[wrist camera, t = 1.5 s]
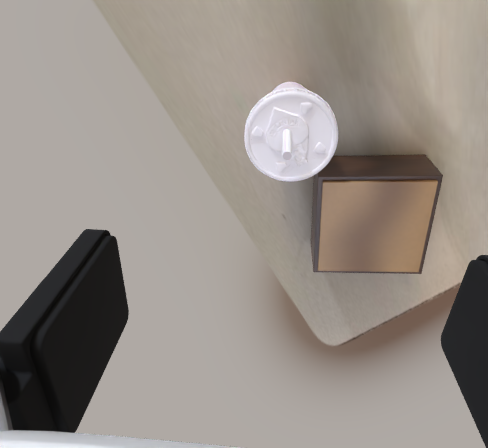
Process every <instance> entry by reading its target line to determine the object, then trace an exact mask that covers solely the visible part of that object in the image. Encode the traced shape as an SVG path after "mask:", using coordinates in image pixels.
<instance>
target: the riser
mask: <svg viewBox="0 0 488 448" xmlns="http://www.w3.org/2000/svg"><path fill="white" fill-rule="evenodd" d="M442 177H443V175H442V174H441V173H440V172H439V170H438V169H437V168H436V167H435V166H434V164H433V163H432V162H431V161H430V159H429V158H428V157H427V156H426V155H377V156H333V157H332V158H331V160H330V161H329V163H328V164H327V165H326V166H325V167H324V168H323V169H322V170H321V171H320V172H318V173H317V174H315V175H314V182H313V206H312V230H311V252H312V262H313V272H344V273H410V274H421V273H422V268H423V264H424V259H425V255H426V250H427V245H428V241H429V236H430V232H431V227H432V223H433V218H434V214H435V209H436V205H437V200H438V196H439V191H440V186H441V182H442Z"/></svg>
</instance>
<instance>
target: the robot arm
mask: <svg viewBox="0 0 488 448" xmlns="http://www.w3.org/2000/svg"><path fill="white" fill-rule="evenodd" d="M127 320H128V304H127V299H126V292H125V286H124V280H123V274H122V268H121V262H120V257H119V251H118V245H117V240H116V238H115V237H114V236H111V235H110V233H109V231H107V230H92V229H86V230H84V231H83V232H82V234H81V235H80V236H79V237H78V239H77V240H76V241H75V242H74V243H73V245H72V246H71V247H70V248H69V250H68V251H67V252H66V253H65V254H64V256H63V257H62V258H61V259H60V261H59V262H58V263H57V264H56V265H55V267H54V268H53V269H52V270H51V271H50V273H49V274H48V275H47V276H46V278H45V279H44V280H43V281H42V282H41V283H40V284H39V285H38V287H37V288H36V289H35V291H34V292H33V293H32V294H31V295H30V296H29V298H28V299H27V300H26V301H25V303H24V304H23V305H22V306H21V307H20V309H19V310H18V311H17V312H16V313H15V315H14V316H13V317H12V318H11V319H10V321H9V322H8V323H7V324H6V326H5V327H4V328H3V329H2V330H1V332H0V448H242V447H231V446H221V445H210V444H199V443H188V442H176V441H166V440H155V439H145V438H134V437H123V436H110V435H96V434H83V433H75V431H76V430H77V428H78V426H79V424H80V422H81V420H82V417H83V415H84V413H85V411H86V409H87V407H88V404H89V402H90V400H91V398H92V396H93V394H94V392H95V390H96V387H97V385H98V383H99V381H100V379H101V377H102V375H103V372H104V370H105V368H106V366H107V364H108V362H109V359H110V357H111V355H112V353H113V351H114V349H115V347H116V345H117V343H118V340H119V338H120V336H121V333H122V332H123V330H124V327H125V325H126V323H127ZM441 345H442V349H443V351H444V353H445V356H446V358H447V360H448V362H449V365H450V367H451V369H452V371H453V373H454V376H455V378H456V380H457V383H458V385H459V387H460V390H461V392H462V394H463V396H464V399H465V401H466V403H467V405H468V408H469V410H470V412H471V414H472V417H473V419H474V421H475V423H476V426H477V428H478V430H479V433H480V435H481V437H482V439H483V442H484V443H485V446H486V448H488V255H480V256H479V257H478V258H477V259H476V260H472V261H471V262H470V263H469V265H468V267H467V270H466V273H465V275H464V278H463V280H462V283H461V285H460V288H459V291H458V293H457V296H456V299H455V301H454V304H453V306H452V309H451V311H450V314H449V317H448V319H447V322H446V324H445V327H444V330H443V332H442V335H441Z"/></svg>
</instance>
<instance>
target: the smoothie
mask: <svg viewBox="0 0 488 448" xmlns="http://www.w3.org/2000/svg"><path fill="white" fill-rule="evenodd" d="M244 141H245V148H246V151H247V154H248V156H249V158H250V160H251V161H252V163H253V164H254V165H255V167H256V168H257V169H258V170H260V171H261V172H262V173H263V174H265V175H267V176H268V177H271V178H273V179H276V180H280V181H288V182H292V181H300V180H304V179H307V178H309V177H311V176H313V175H315V174H317V173H318V172H320V171H321V170H322V169H323V168H324V167H325V166H326V165H327V164H328V163H329V161H330V160H331V158H332V157H333V155H334V153H335V150H336V147H337V142H338V125H337V122H336V118H335V115H334V112H333V111H332V109H331V108H330V106H329V105H328V103H327V102H326V101H325V100H323V99H322V98H321V97H320V96H319V95H317V94H315V93H313V92H311V91H309V90H307V89H306V88H305V87H304V86H302V85H301V84H299V83H296V82H285V83H282V84H280V85H278V86H277V87H276V88H275V89H274V90H273V91H272V92H271V93H269V94H268V95H266V96H265V97H263V98H262V99H261V100H259V101H258V103H257V104H256V105H255V106H254V108H253V109H252V110H251V112H250V114H249V116H248V119H247V121H246V126H245V133H244Z"/></svg>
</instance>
